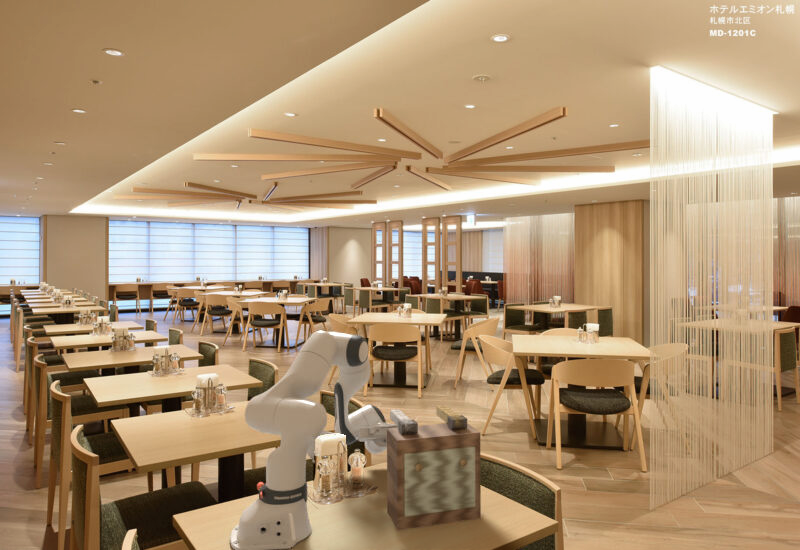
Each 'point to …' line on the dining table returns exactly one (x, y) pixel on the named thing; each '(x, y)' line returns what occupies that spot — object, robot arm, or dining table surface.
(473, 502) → the wooden box
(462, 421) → the brass handle
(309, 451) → the teacup
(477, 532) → the dining table surface
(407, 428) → the steel handle
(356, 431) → the robot arm
